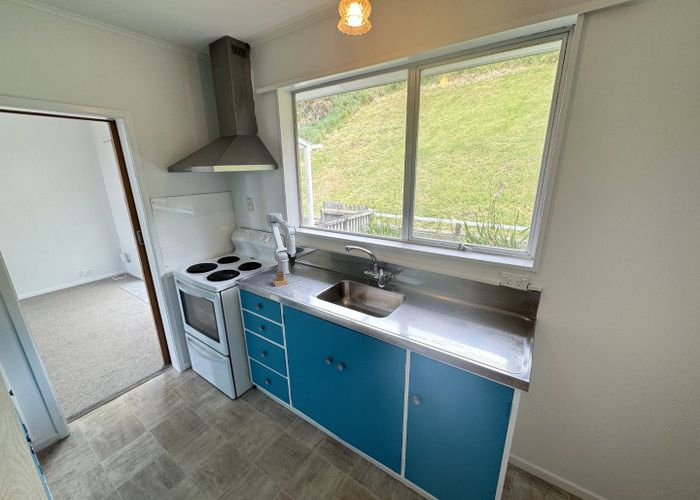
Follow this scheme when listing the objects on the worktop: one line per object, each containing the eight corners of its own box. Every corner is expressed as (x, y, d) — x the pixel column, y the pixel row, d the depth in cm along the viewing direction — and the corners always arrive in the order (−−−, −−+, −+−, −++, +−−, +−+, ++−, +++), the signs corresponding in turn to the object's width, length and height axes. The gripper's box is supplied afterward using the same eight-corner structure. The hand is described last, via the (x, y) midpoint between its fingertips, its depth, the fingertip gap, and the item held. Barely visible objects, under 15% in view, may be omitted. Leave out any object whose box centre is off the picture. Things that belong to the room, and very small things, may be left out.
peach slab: (272, 283, 185) (272, 278, 184) (284, 281, 189) (284, 276, 188) (275, 287, 178) (275, 282, 178) (287, 285, 182) (287, 280, 181)
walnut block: (276, 278, 185) (275, 271, 183) (283, 278, 186) (282, 270, 184) (276, 281, 180) (276, 273, 179) (283, 280, 181) (283, 273, 180)
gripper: (283, 242, 192) (284, 261, 196) (285, 247, 179) (287, 268, 182) (294, 242, 194) (295, 260, 198) (296, 247, 181) (298, 267, 184)
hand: (292, 264), depth 190 cm, fingers open, 7 cm apart
